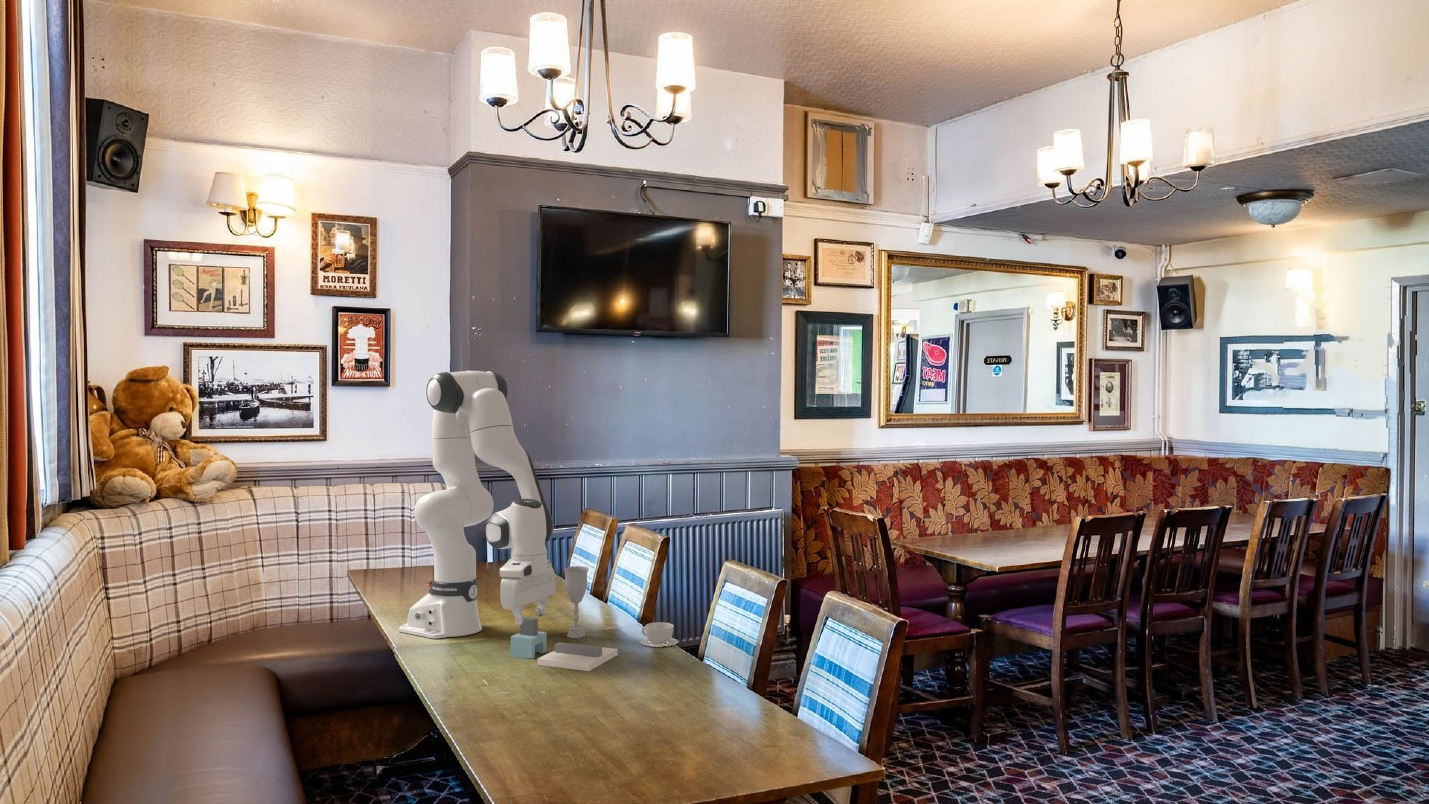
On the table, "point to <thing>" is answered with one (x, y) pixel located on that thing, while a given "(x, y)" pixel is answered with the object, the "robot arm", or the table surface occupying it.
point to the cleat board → (577, 656)
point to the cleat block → (528, 640)
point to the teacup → (658, 634)
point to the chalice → (576, 594)
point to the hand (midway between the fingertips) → (530, 620)
